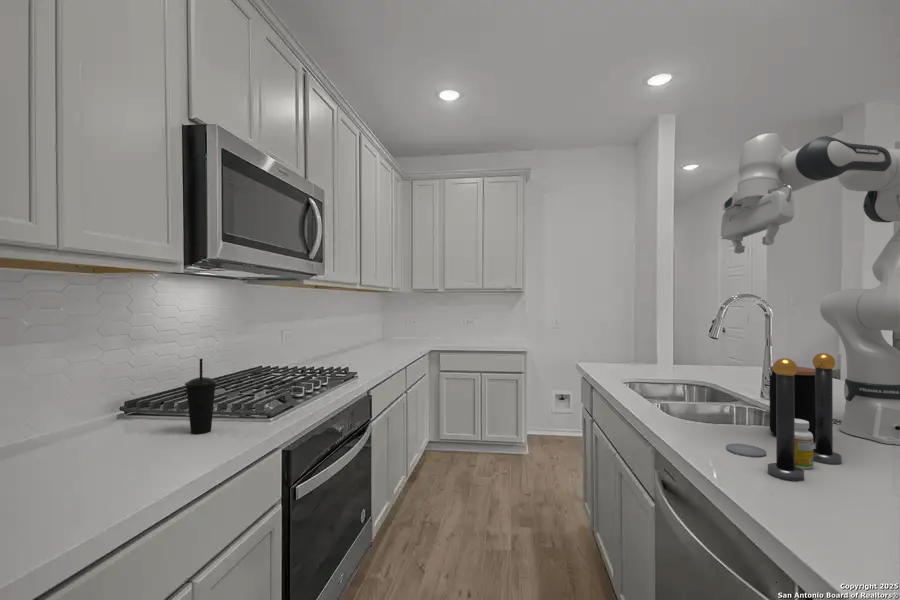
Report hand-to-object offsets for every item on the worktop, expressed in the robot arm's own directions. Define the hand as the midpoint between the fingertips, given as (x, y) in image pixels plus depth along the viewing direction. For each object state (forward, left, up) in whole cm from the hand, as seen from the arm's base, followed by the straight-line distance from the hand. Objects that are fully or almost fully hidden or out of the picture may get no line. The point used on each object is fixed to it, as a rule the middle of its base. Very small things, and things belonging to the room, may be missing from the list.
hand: (752, 248), depth 113 cm
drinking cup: (+131, +61, -49) cm, 152 cm away
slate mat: (+2, +7, -49) cm, 49 cm away
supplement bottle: (-7, +13, -49) cm, 51 cm away
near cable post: (-4, +21, -49) cm, 53 cm away
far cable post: (-13, +6, -49) cm, 51 cm away
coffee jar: (-10, -12, -49) cm, 52 cm away
